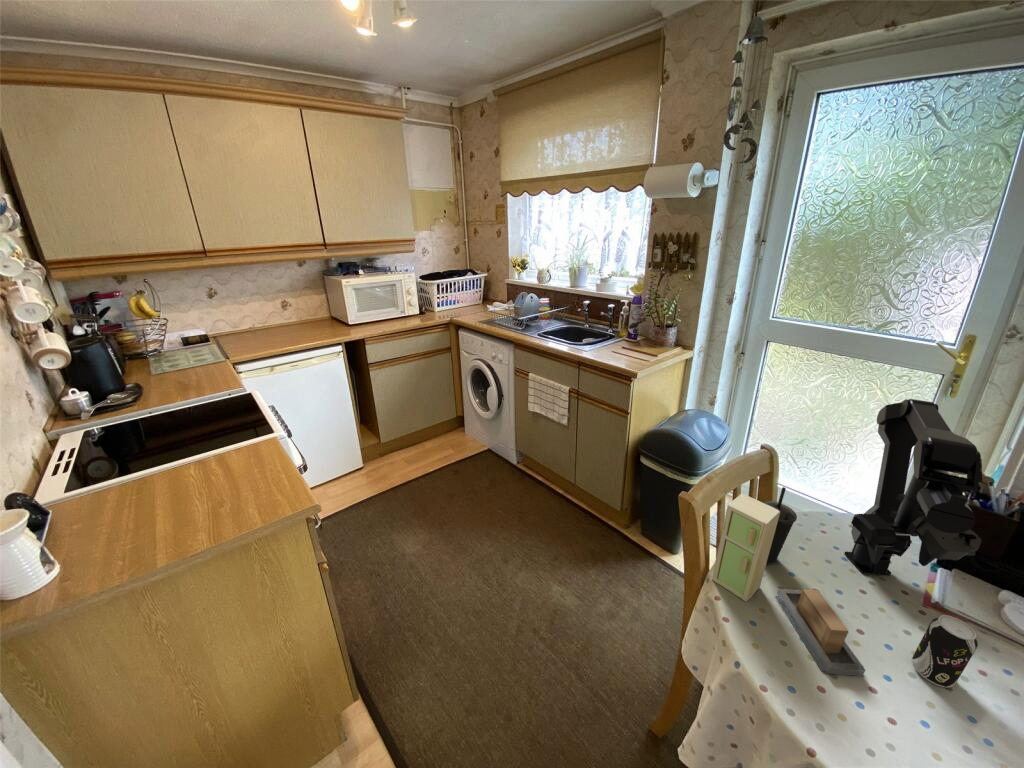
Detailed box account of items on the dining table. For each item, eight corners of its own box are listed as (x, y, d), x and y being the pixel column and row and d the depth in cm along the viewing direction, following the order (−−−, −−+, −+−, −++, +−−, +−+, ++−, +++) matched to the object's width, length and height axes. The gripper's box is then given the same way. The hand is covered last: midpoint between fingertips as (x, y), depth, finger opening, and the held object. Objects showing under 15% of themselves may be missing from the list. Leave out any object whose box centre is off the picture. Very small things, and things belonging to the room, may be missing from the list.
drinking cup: (745, 560, 99) (764, 491, 92) (748, 540, 105) (765, 474, 98) (782, 573, 95) (804, 502, 88) (782, 552, 101) (803, 484, 94)
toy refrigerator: (708, 580, 93) (725, 505, 86) (724, 565, 98) (742, 492, 90) (744, 604, 87) (766, 526, 80) (760, 587, 92) (782, 511, 84)
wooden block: (794, 610, 86) (802, 589, 83) (810, 611, 85) (818, 590, 83) (822, 652, 77) (831, 629, 75) (839, 653, 77) (848, 630, 75)
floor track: (773, 595, 90) (775, 588, 89) (808, 597, 89) (810, 590, 88) (823, 674, 74) (826, 667, 73) (865, 677, 73) (868, 670, 73)
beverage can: (917, 682, 73) (943, 634, 68) (904, 653, 78) (927, 607, 73) (960, 696, 70) (990, 647, 66) (944, 665, 75) (970, 618, 71)
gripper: (908, 526, 70) (879, 594, 76) (1026, 531, 69) (987, 600, 74) (861, 487, 80) (838, 549, 86) (963, 491, 79) (933, 554, 85)
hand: (897, 563), depth 82 cm, fingers open, 9 cm apart
